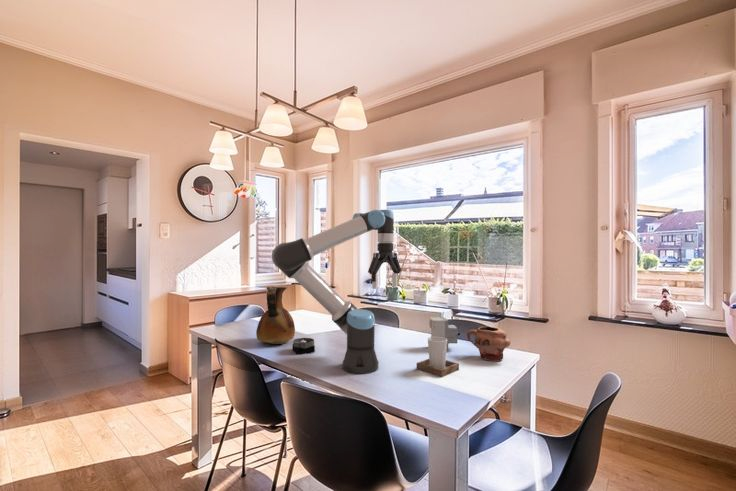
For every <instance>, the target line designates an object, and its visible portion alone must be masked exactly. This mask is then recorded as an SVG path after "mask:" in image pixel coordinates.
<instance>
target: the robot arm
mask: <svg viewBox="0 0 736 491" xmlns="http://www.w3.org/2000/svg"><path fill="white" fill-rule="evenodd" d="M394 220H395V218H394V211H393V210H391V209H373V210H371V211H368V212H365V213H363V212H362V213H361V212H359V213H354V214H353V216H352V219H350V220H347V221H345V222H343V223H340V224H338V225H335V226H333V227H332V228H331V227H330V228H329V229H326V230H324V231H322V232H318V233H317V234H315V235H312V236H310V237H307V238H304V237H302V238H299V239H296V240H293V241H289V242H288V241H287V242H281V243H279V244H278V245H276V246H275V248H273V250H272V252H271V261H272V262H273V265H274V266H275V267H276V268H278V269H279V270H280V271H281V272H282V273H283V274H284V275H285V276H286V277H287V278H288V279H293V280H295V281H297V282H298V284H300V286H302V287H303V288H304V289H305V291H307V292H308V294H310V296H312V297H313V299H315V300H316V302H318V303H319V305H321V306H322V307H323V309H325V310H326V311H327V312H328V313H329V314H331V321H332V322H333V323H335V324H336V326H337V327H339V329H340V330H341V331H342V332H343V333H344V334H346V351H345V355H344V358H343V360H342V369H343V371H345V372H348V373H350V374H352V373H353V374H369V373H373V372H375V371H378V370H379V360H378V358H377V353H376V351H375V350H376V349H375V337H376V336H375V335H376V334H375V324H376V319H375V315H374V313H373V312H372V311H370V310H369V309H367V310H366V309H360V308H358V307H356V306H355V304H353V303H352V301H350V300H345V299H344V298H343V297H342V296H341V295H339V293H338V292H336V290H335V289H334V288H332V286H331V285H329V284H328V282H327V281H326V280H325V279H324V278H322V276H321V275H320V274H319V273H318V272H317V271H315V269H314V268H312V266H311V265H310V264H309V262H310V261H312V260H313V258H314V256H315V257H316V256H317V255H319V254H321V253H324V252H325V251H328V250H330V249H332V248H334V247H336V246H337V247H338V246H340V245H341V244H344V243H346V242H348V241H350V240H353V239H355V238H357V237H359V236H361V235H363V234H365V233H368V232H371V231H376V230H377V242H378V243H377V245H376V246H377V251H378V252H373V253H372V259H371V262H370V264H369V267H368V271H367V273H368V274H369V275H370V276H371V282H372V283H371V284H372V286H371V288H372V289H375V290H378V288H379V284H378V278H379V276H378V274H377V273H378V272H379V270H380V268H381V267H382V265H383V264H384V263H387V264H388V265H389V267H390V269H391V270H392V272H393V273H392V275H391V278H392V279H391V280H392V282H391V283H392V284H391V286H392V287H394V288H398V280H399V274H400V273H401V272H402V268H401V265H400V262H399V258H398V253H397V252H393V251H394Z"/></svg>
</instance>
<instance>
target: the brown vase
mask: <svg viewBox="0 0 736 491" xmlns="http://www.w3.org/2000/svg"><path fill="white" fill-rule="evenodd" d="M265 289H266V290H267V291H266V305H267V310H266V311H264V313H263V314H262V316H261V317H260V319H259V322H258V323H257V326H256V330H255V331H256V333H255V334H256V339H257V340H258V341H260V342H262V343H268V344H274V345H275V344H277V345H279V344H281V345H282V344H286V343H288V342H289V341H291V340H292V339H293V340H294V337H295V333H296V328H295V326H296V325H295V322H294V318H293V317H292V314H290V312H289V311H288V310H287V309H286V308H284V306H283V293H284V292H285V290H287V289H288V287H286V286H285V287H284V286H274V285H273V286H268V287H267V286H266V287H265Z"/></svg>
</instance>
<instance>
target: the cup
mask: <svg viewBox="0 0 736 491" xmlns="http://www.w3.org/2000/svg"><path fill="white" fill-rule="evenodd" d="M427 345H428V359H429V361H430V366H431V367H434V368H438V369H444V368H445V362H446V360H447V351H446V349H447V339H446V338H443V337H431V336H430V337H427Z"/></svg>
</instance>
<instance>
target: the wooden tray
mask: <svg viewBox="0 0 736 491" xmlns="http://www.w3.org/2000/svg"><path fill="white" fill-rule="evenodd" d="M416 370H418V371H421V372H424V373H427V374H430V375H433V376H436V377H439V378H444V377H446V376H448V375H450V374H453V373H455V372H457V371H460V363H459V362H454V361H451V360H447V359H446V362H445V368H444V369H438V368H434V367H431V366H430V361H429V358H427V359H424V360H421V361H419V362H416Z"/></svg>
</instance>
